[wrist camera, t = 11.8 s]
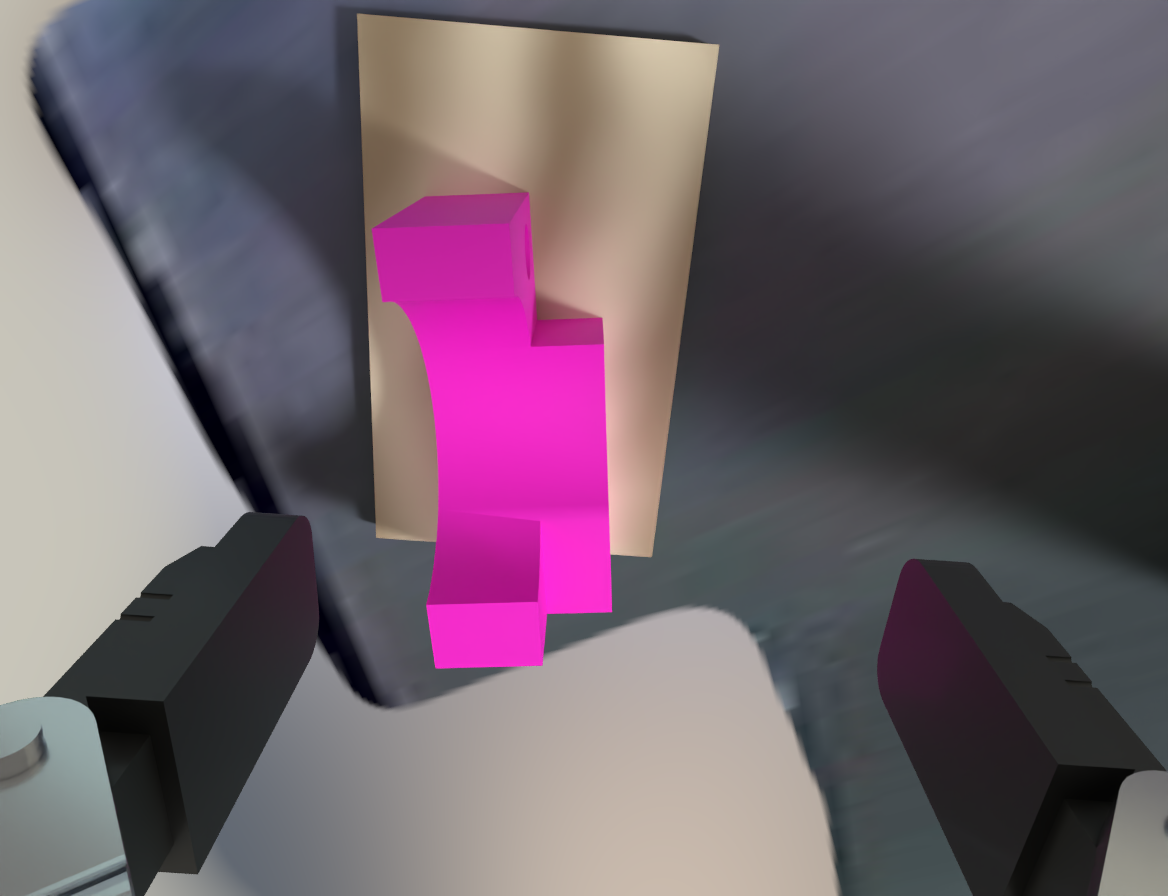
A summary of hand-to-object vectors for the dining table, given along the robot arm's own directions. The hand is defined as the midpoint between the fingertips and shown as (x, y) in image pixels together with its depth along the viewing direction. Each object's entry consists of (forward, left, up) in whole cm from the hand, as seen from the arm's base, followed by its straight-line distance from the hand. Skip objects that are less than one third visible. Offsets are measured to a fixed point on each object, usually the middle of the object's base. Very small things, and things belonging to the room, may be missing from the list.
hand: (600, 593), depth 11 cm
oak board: (+3, +2, -21) cm, 22 cm away
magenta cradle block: (+2, +5, -21) cm, 21 cm away
